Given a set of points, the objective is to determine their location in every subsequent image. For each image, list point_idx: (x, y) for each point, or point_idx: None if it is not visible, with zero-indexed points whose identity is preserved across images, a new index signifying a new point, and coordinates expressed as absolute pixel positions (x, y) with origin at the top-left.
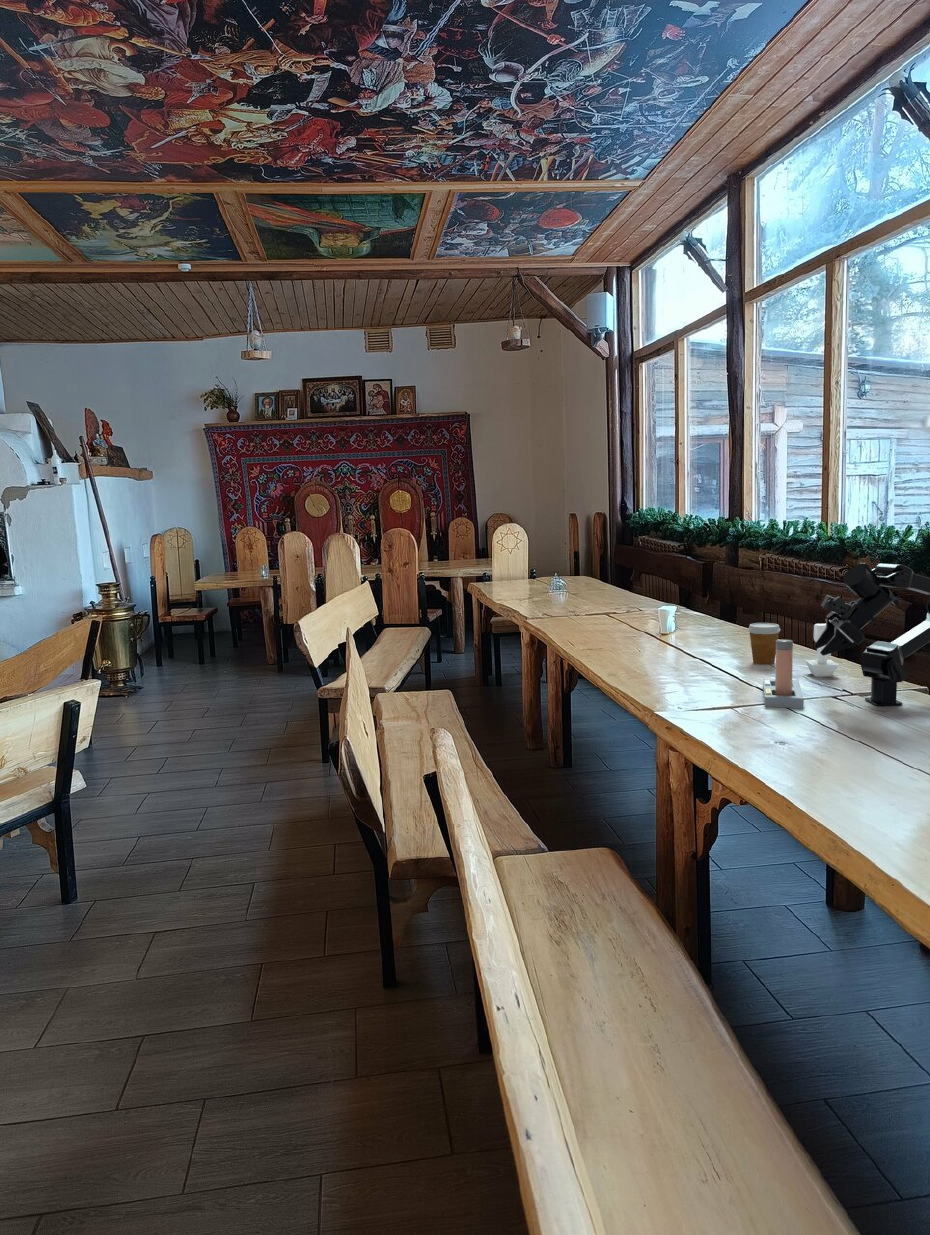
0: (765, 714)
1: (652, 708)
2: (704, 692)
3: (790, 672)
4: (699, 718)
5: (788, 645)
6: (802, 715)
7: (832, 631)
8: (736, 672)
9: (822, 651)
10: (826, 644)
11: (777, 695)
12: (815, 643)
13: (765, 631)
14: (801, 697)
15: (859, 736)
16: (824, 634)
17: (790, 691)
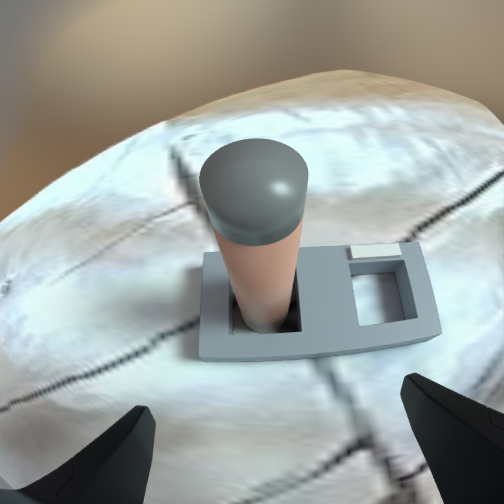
0: (141, 268)
1: (184, 115)
2: (317, 153)
3: (239, 291)
4: (123, 170)
5: (206, 206)
6: (136, 350)
7: (489, 493)
8: (492, 204)
9: (128, 417)
10: (109, 447)
11: (226, 283)
12: (419, 379)
13: None
14: (210, 351)
15: (23, 421)
16: (469, 438)
17: (247, 317)
